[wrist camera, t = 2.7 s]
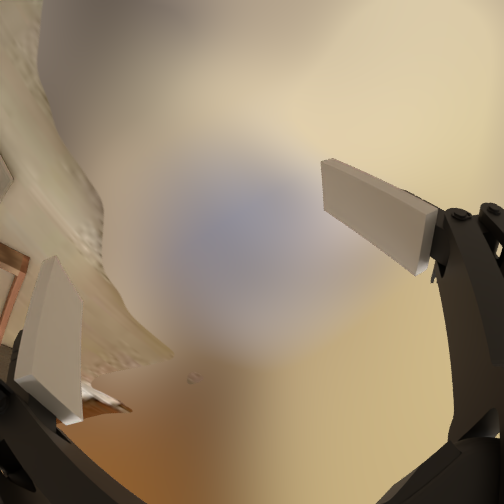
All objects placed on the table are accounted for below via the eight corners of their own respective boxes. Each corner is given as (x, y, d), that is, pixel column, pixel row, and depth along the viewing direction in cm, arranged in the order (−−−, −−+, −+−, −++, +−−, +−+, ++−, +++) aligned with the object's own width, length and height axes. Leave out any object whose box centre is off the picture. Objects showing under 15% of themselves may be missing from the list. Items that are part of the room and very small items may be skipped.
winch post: (-7, 351, 38) (-11, 428, 27) (-3, 336, 37) (-9, 418, 26) (15, 360, 41) (15, 436, 30) (20, 346, 40) (20, 426, 29)
